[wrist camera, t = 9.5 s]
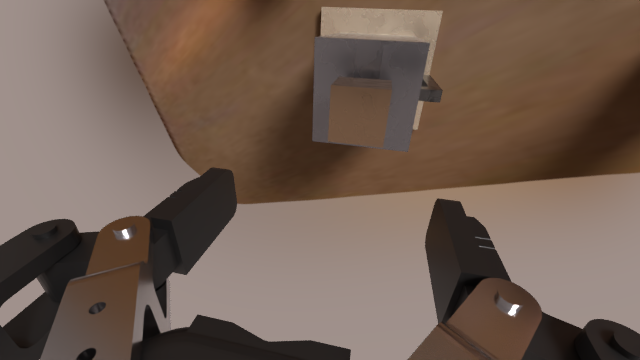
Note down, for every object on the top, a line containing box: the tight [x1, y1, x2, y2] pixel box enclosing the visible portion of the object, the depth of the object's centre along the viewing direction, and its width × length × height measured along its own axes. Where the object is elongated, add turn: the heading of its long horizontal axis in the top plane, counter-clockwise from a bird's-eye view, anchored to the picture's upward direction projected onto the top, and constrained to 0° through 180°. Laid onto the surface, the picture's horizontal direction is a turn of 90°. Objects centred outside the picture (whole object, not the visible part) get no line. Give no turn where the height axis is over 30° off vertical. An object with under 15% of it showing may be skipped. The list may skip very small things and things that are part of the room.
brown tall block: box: [328, 77, 392, 148], centre depth 30 cm, size 7×7×21 cm
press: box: [312, 7, 443, 152], centre depth 35 cm, size 16×16×18 cm
